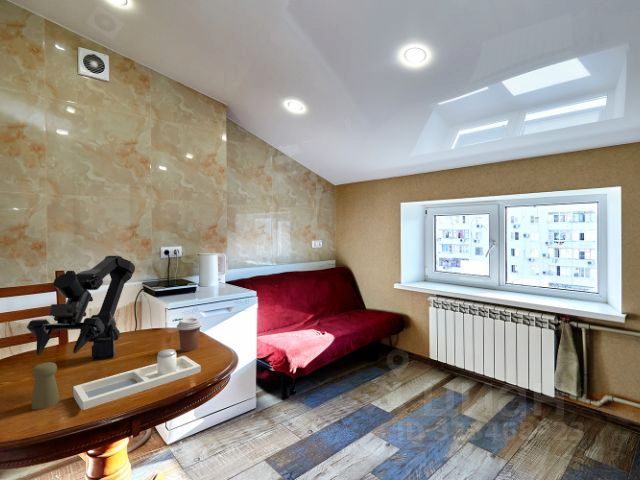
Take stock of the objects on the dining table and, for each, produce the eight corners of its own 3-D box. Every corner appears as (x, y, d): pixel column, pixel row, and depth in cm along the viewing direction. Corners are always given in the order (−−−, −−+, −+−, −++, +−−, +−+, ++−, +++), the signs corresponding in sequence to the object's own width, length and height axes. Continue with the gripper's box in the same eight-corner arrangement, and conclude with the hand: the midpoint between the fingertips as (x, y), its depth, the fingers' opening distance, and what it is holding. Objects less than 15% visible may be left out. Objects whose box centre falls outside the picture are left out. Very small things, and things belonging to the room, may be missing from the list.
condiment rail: (184, 364, 119) (184, 355, 119) (200, 374, 110) (200, 365, 110) (73, 396, 96) (73, 386, 96) (83, 413, 87) (83, 402, 87)
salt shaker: (176, 369, 112) (176, 347, 112) (176, 376, 107) (176, 353, 107) (157, 372, 110) (157, 350, 110) (157, 379, 105) (156, 356, 104)
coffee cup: (171, 353, 129) (171, 321, 128) (189, 345, 137) (188, 316, 137) (190, 356, 125) (189, 324, 125) (207, 348, 134) (206, 318, 133)
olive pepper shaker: (28, 412, 88) (26, 370, 87) (34, 401, 93) (33, 361, 93) (57, 406, 91) (56, 366, 90) (61, 396, 96) (60, 358, 96)
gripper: (30, 292, 100) (3, 342, 89) (99, 291, 103) (81, 339, 93) (47, 312, 108) (24, 360, 97) (111, 310, 111) (95, 356, 101)
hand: (56, 353), depth 97 cm, fingers open, 9 cm apart
